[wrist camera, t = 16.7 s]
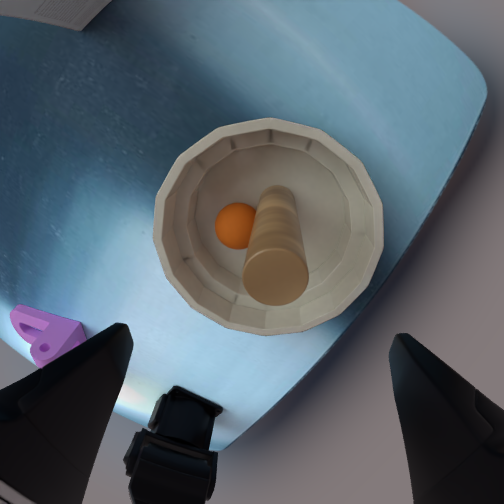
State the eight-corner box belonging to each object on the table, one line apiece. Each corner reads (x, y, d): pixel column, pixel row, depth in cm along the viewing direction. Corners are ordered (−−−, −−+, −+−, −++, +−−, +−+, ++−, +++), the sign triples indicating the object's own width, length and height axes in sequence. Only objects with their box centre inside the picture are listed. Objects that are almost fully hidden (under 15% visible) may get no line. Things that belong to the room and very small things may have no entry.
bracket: (80, 322, 27) (48, 364, 21) (93, 357, 30) (67, 398, 23) (10, 300, 28) (-20, 330, 22) (24, 333, 30) (-3, 364, 24)
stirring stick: (301, 208, 19) (320, 289, 10) (271, 225, 20) (264, 316, 11) (282, 178, 19) (287, 236, 10) (252, 196, 19) (228, 269, 10)
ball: (257, 214, 21) (270, 248, 19) (217, 228, 21) (227, 264, 19) (249, 186, 18) (264, 223, 17) (204, 202, 18) (214, 240, 17)
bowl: (395, 198, 19) (425, 221, 15) (288, 319, 24) (288, 362, 20) (244, 83, 17) (233, 71, 12) (151, 234, 22) (122, 264, 18)
